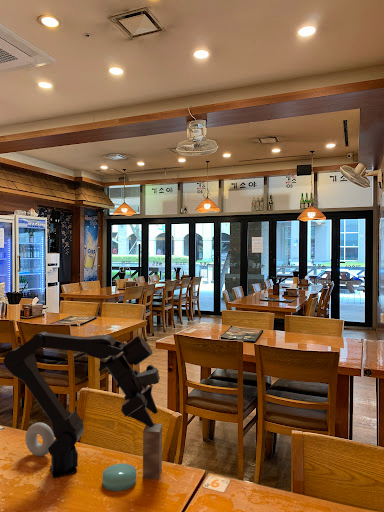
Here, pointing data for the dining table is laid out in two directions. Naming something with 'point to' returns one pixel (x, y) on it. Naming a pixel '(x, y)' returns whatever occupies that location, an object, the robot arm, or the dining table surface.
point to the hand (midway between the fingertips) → (154, 419)
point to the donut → (33, 442)
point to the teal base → (119, 477)
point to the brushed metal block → (152, 451)
